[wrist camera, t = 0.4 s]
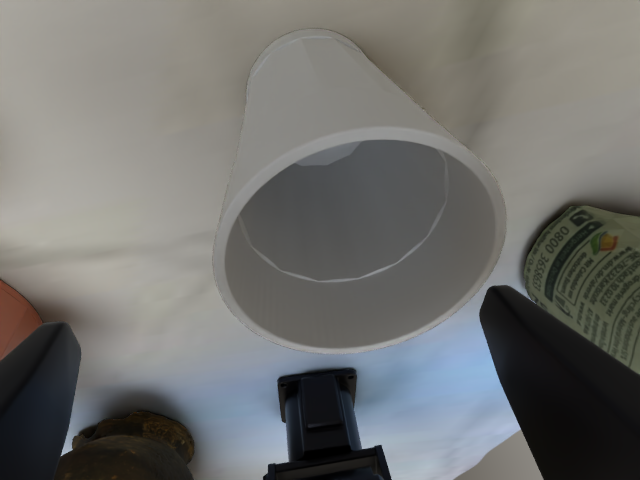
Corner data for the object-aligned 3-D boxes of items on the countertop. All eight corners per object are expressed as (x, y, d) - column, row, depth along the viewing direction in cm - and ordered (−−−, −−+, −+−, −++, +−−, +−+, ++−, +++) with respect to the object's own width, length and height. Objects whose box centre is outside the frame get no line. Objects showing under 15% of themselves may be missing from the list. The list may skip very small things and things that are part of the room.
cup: (200, 127, 21) (164, 313, 12) (281, -35, 17) (320, 54, 8) (333, 193, 25) (385, 376, 15) (425, 69, 21) (567, 214, 12)
